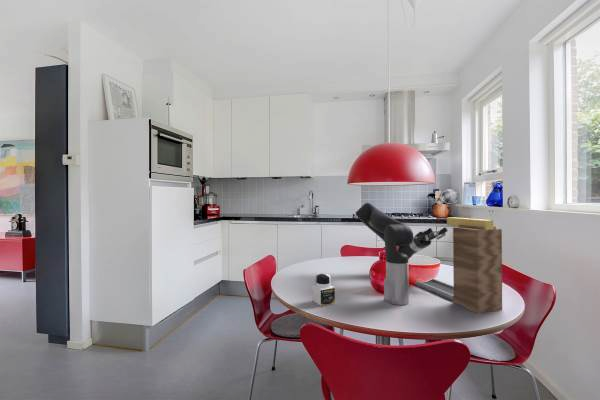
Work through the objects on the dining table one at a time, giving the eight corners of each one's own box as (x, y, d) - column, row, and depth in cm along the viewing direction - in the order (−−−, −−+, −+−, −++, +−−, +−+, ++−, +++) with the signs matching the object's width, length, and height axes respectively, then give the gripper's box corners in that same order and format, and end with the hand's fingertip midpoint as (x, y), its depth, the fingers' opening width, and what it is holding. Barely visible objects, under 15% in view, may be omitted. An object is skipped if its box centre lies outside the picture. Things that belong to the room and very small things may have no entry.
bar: (486, 229, 111) (485, 220, 111) (447, 225, 131) (447, 217, 131) (493, 229, 112) (493, 220, 112) (453, 225, 132) (453, 217, 132)
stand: (478, 313, 110) (477, 227, 110) (453, 302, 122) (453, 225, 122) (502, 309, 114) (501, 226, 113) (476, 299, 125) (475, 224, 125)
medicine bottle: (320, 306, 119) (320, 277, 119) (312, 301, 125) (312, 273, 125) (335, 303, 122) (334, 275, 122) (326, 298, 128) (325, 271, 128)
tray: (452, 301, 123) (452, 295, 123) (415, 284, 147) (415, 280, 147) (473, 298, 126) (473, 293, 126) (433, 282, 150) (433, 278, 150)
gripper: (405, 236, 151) (423, 222, 138) (428, 235, 155) (448, 221, 142) (410, 249, 148) (429, 237, 134) (433, 248, 152) (454, 235, 138)
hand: (439, 229), depth 138 cm, fingers open, 8 cm apart
